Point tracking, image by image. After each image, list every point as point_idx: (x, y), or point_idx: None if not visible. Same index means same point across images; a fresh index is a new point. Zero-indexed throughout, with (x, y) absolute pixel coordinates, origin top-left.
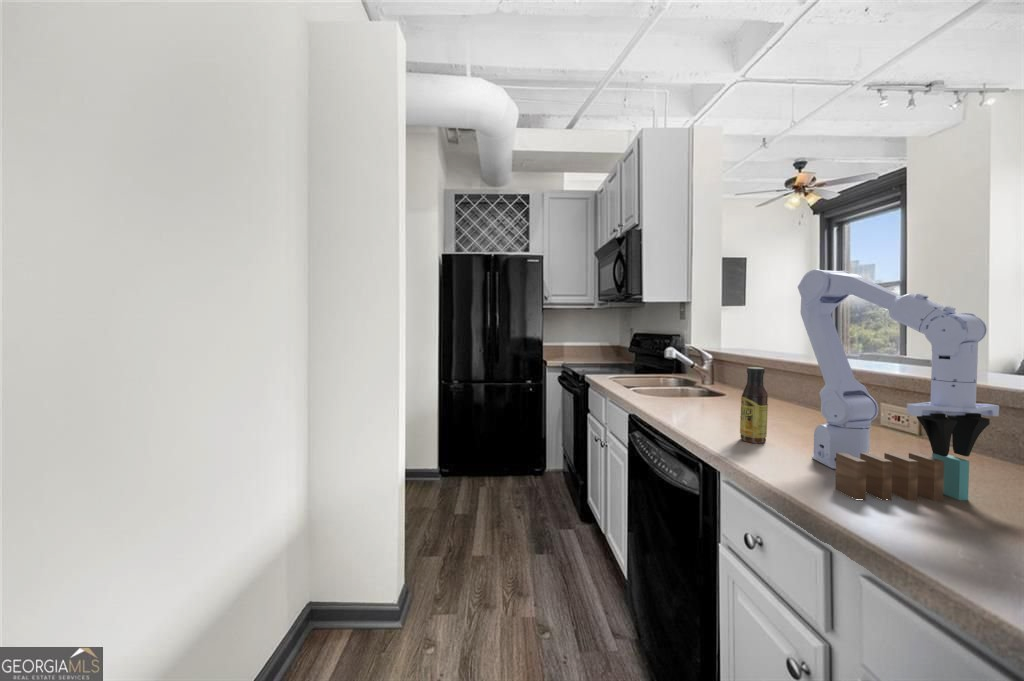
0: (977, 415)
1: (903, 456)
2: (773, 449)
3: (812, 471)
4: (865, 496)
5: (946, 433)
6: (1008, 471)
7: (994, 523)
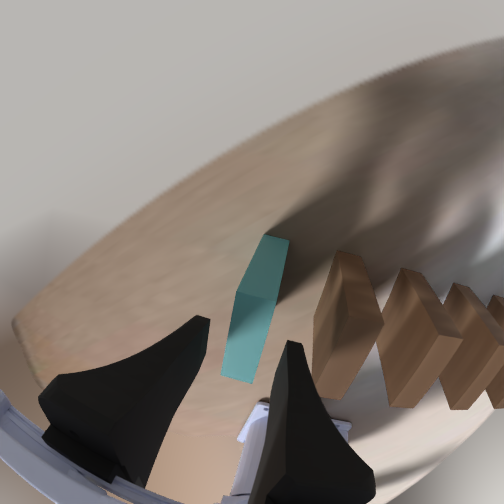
0: (61, 442)
1: (412, 378)
2: None
3: (400, 419)
4: (496, 299)
5: (319, 422)
6: (35, 306)
7: (384, 112)
